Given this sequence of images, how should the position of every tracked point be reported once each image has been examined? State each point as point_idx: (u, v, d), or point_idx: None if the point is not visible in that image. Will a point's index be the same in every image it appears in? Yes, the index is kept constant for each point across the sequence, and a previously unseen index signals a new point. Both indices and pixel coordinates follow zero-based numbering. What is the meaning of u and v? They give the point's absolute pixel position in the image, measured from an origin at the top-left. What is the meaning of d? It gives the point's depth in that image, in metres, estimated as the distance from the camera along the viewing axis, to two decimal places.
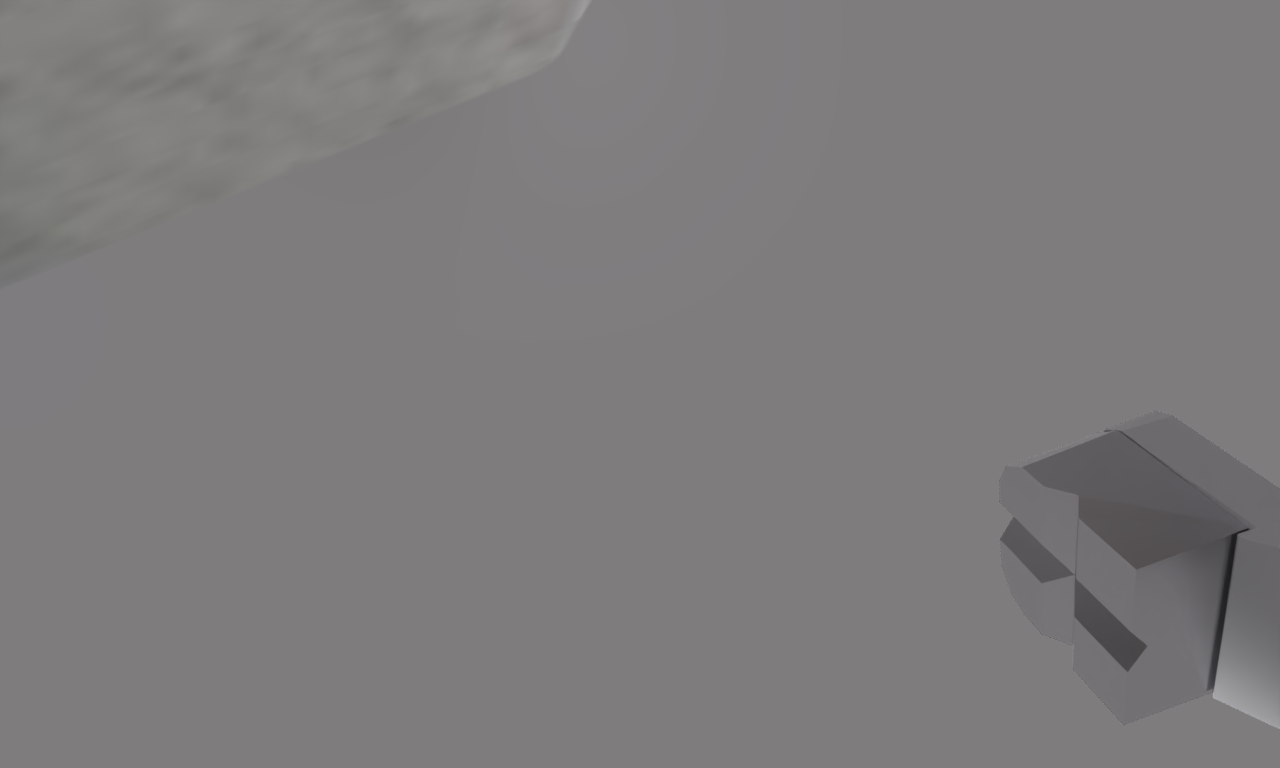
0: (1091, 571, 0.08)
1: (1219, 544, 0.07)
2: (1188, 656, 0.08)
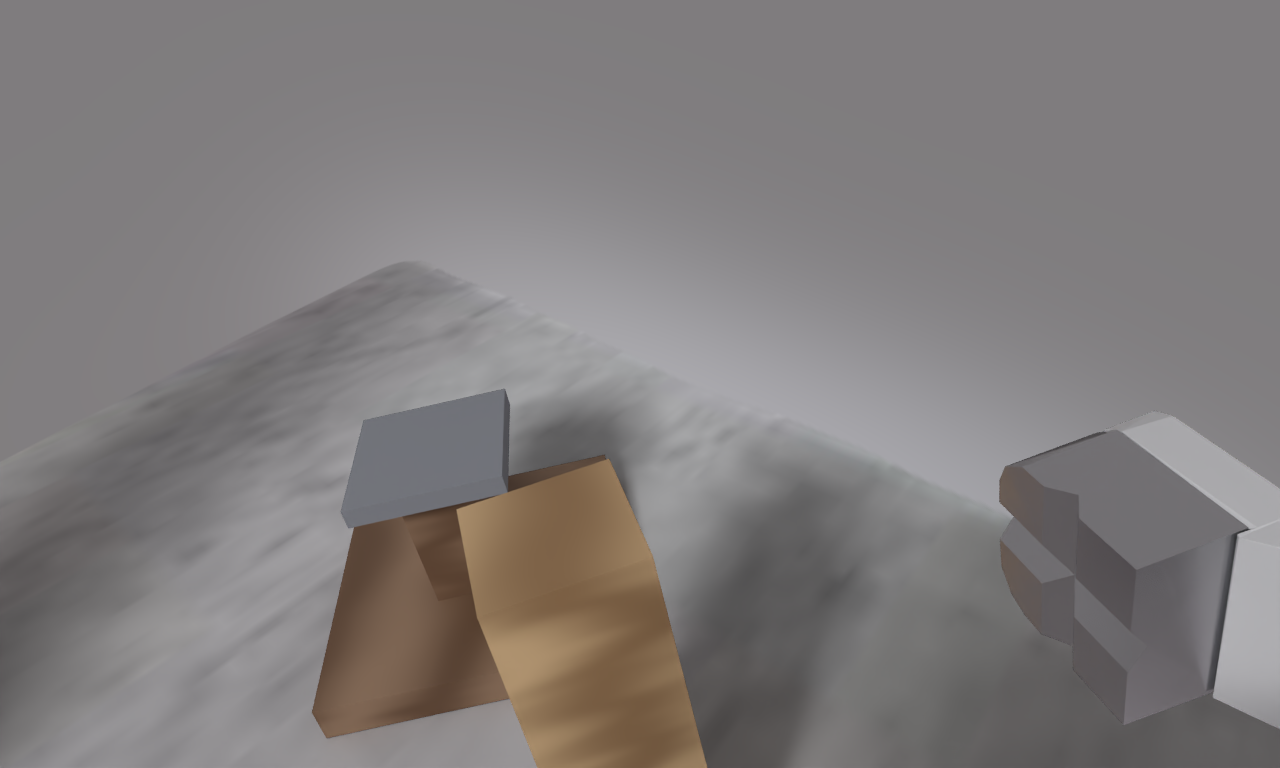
0: (1089, 573, 0.08)
1: (1219, 544, 0.07)
2: (1188, 656, 0.08)
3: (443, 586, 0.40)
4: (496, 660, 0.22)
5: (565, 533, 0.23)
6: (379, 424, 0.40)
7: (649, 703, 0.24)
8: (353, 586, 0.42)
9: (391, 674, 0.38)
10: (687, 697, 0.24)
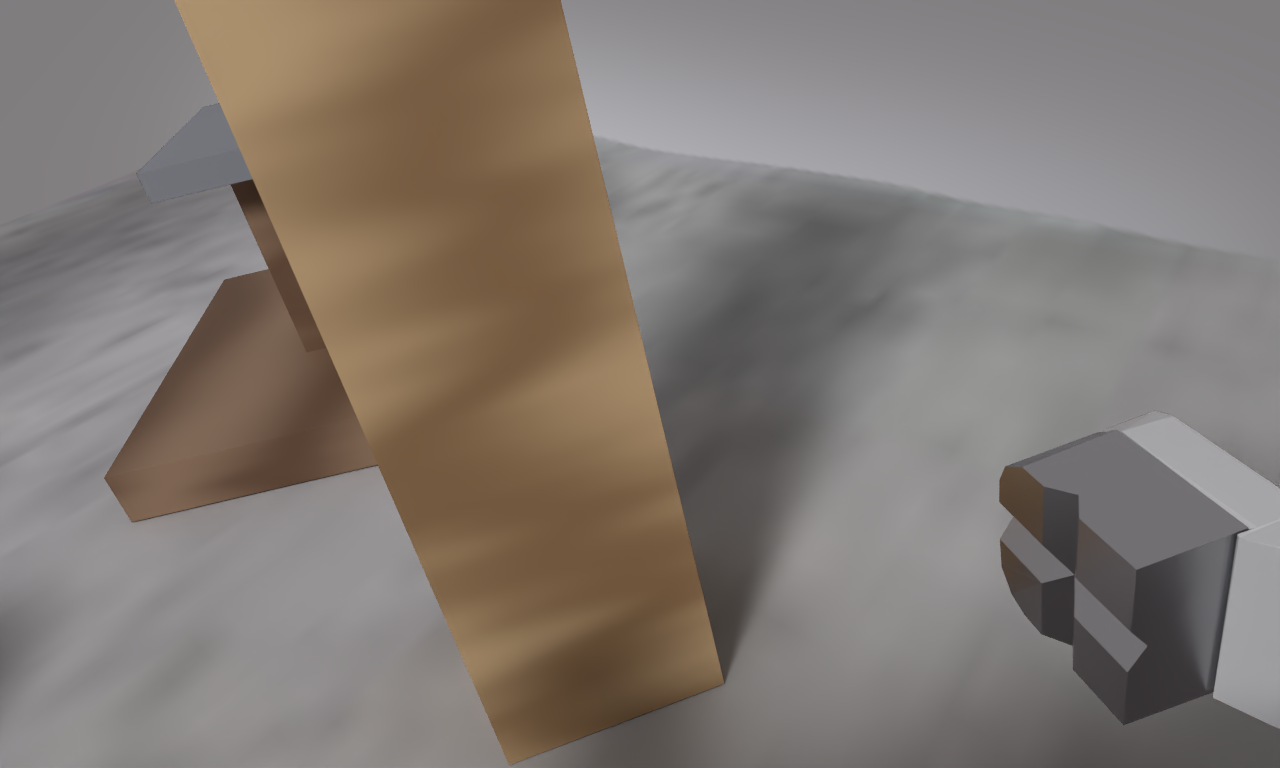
0: (1091, 573, 0.08)
1: (1219, 544, 0.07)
2: (1188, 656, 0.08)
3: (311, 328, 0.29)
4: (186, 18, 0.10)
5: None
6: None
7: (530, 201, 0.12)
8: (198, 348, 0.31)
9: (224, 429, 0.26)
10: (605, 200, 0.13)
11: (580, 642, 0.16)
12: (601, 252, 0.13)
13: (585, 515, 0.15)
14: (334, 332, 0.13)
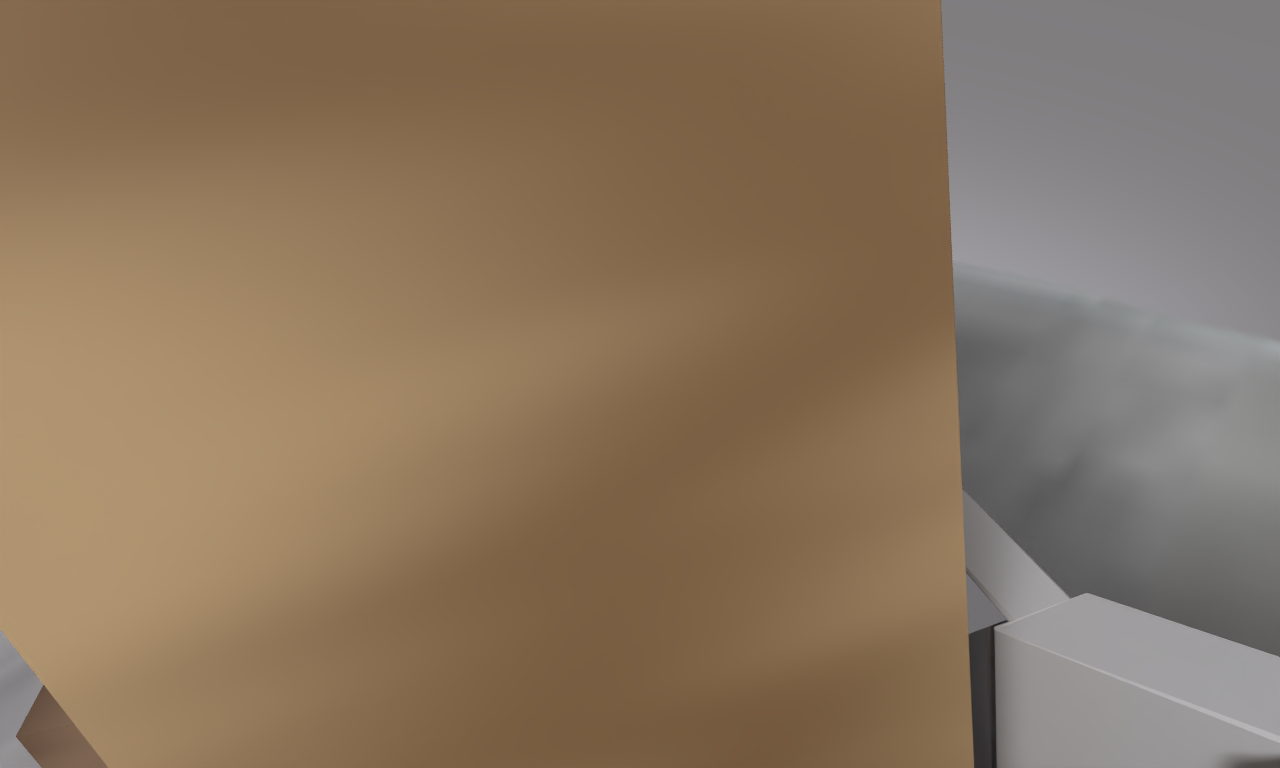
0: None
1: (977, 636, 0.07)
2: None
3: None
4: None
5: None
6: None
7: (806, 723, 0.05)
8: None
9: None
10: (963, 696, 0.06)
11: None
12: None
13: None
14: None
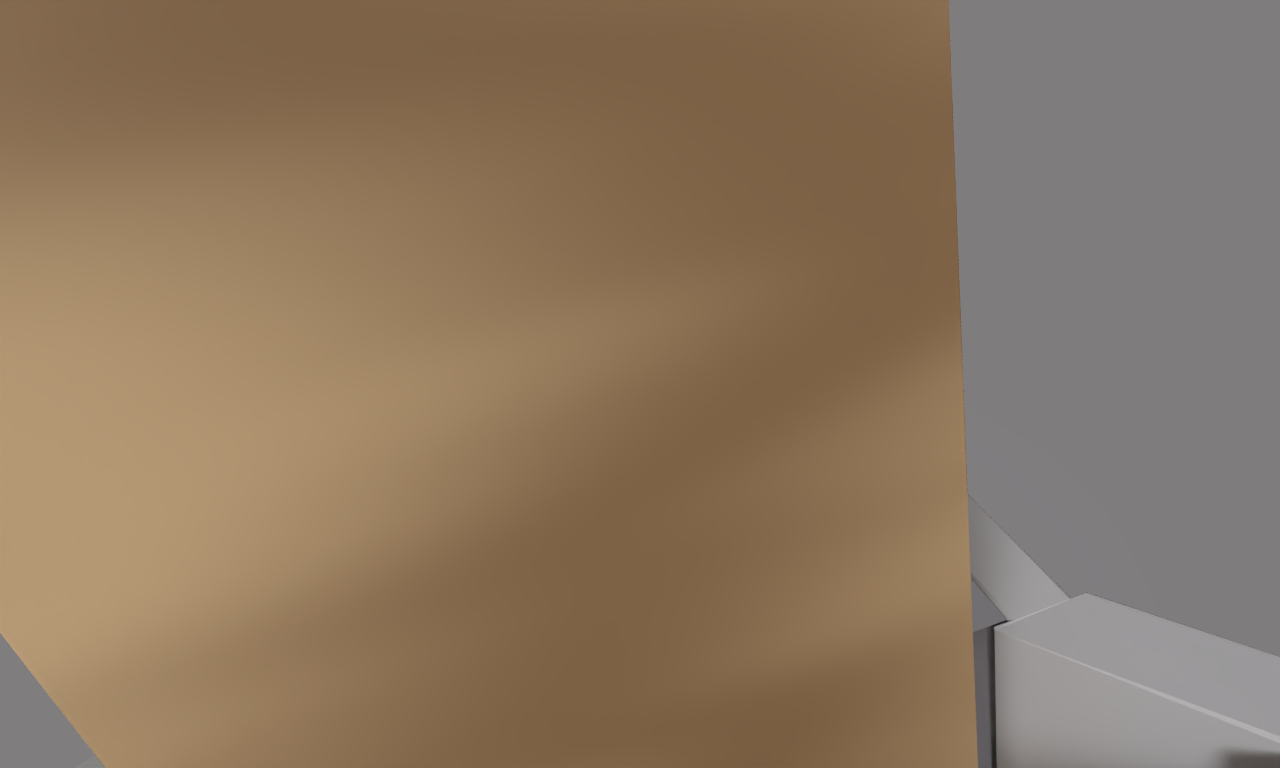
0: None
1: (977, 636, 0.07)
2: None
3: None
4: None
5: None
6: None
7: (809, 725, 0.05)
8: None
9: None
10: (968, 696, 0.06)
11: None
12: None
13: None
14: None
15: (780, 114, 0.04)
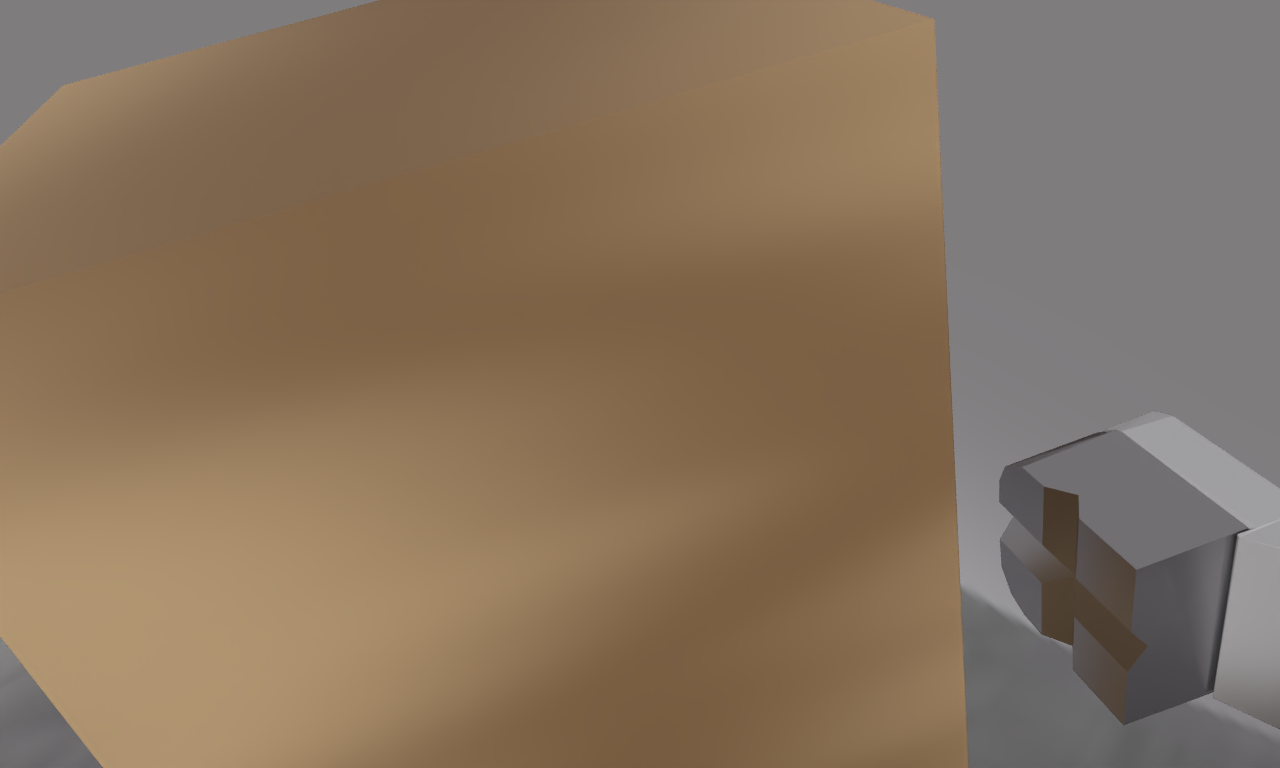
0: (1091, 573, 0.08)
1: (1219, 544, 0.07)
2: (1188, 656, 0.08)
3: None
4: (25, 653, 0.04)
5: (446, 54, 0.05)
6: None
7: None
8: None
9: None
10: None
11: None
12: None
13: None
14: None
15: (799, 343, 0.04)
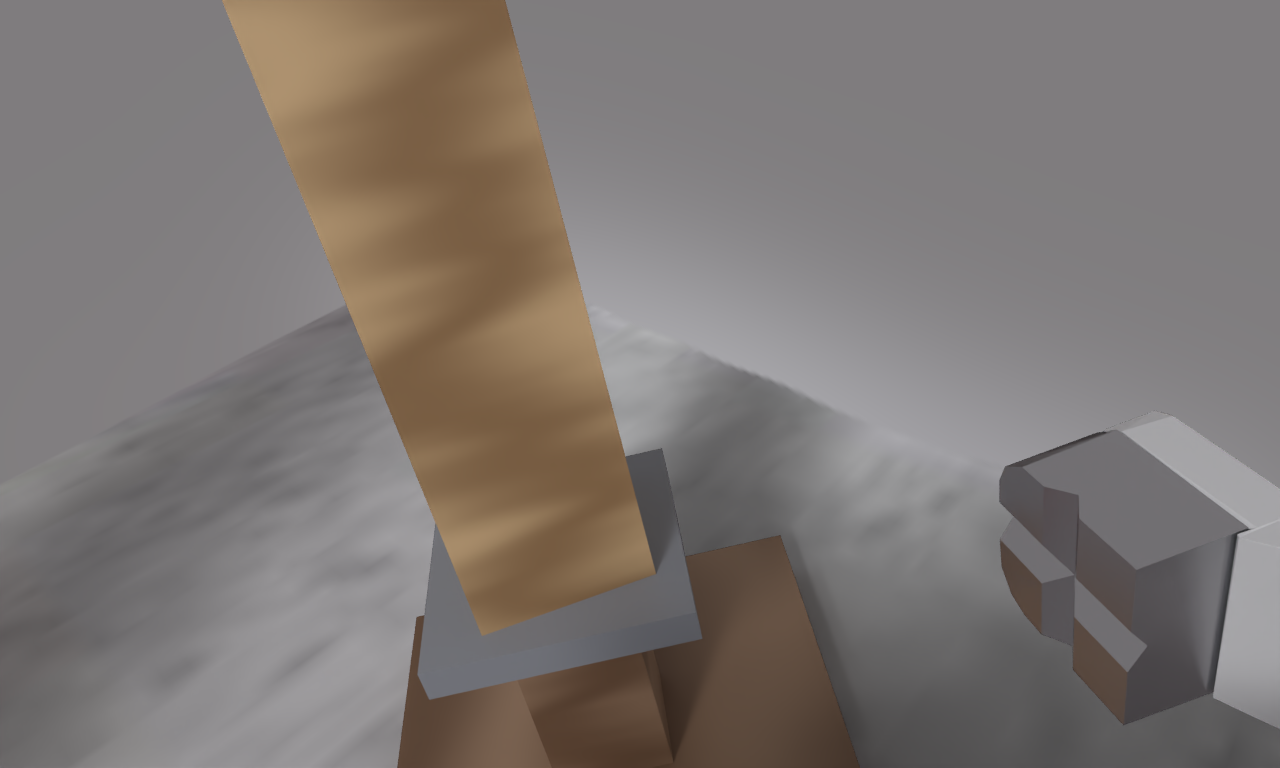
0: (1091, 571, 0.08)
1: (1219, 544, 0.07)
2: (1188, 656, 0.08)
3: (569, 767, 0.25)
4: (243, 46, 0.15)
5: None
6: None
7: (493, 180, 0.17)
8: (419, 753, 0.27)
9: None
10: (550, 180, 0.17)
11: (537, 533, 0.20)
12: (547, 219, 0.17)
13: (539, 427, 0.19)
14: (346, 277, 0.17)
15: None
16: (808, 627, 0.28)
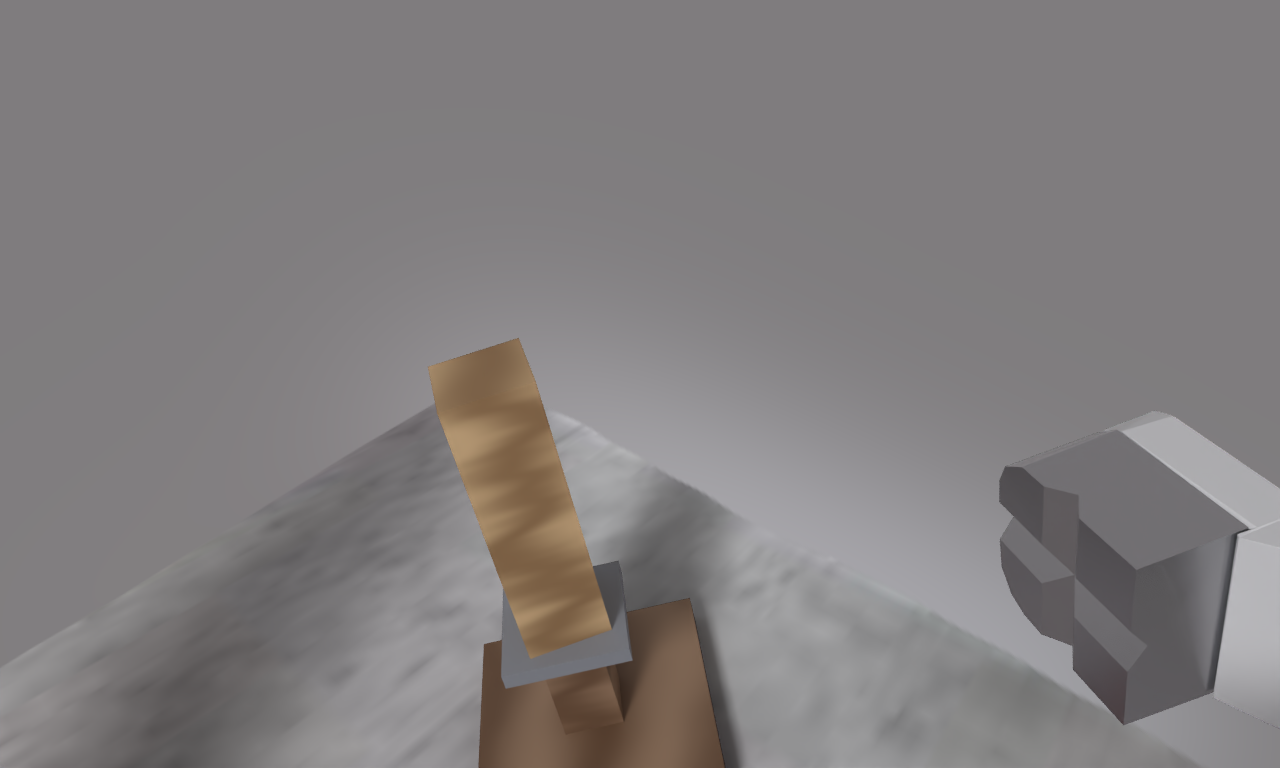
0: (1089, 573, 0.08)
1: (1219, 544, 0.07)
2: (1188, 656, 0.08)
3: (570, 723, 0.49)
4: (448, 441, 0.39)
5: (488, 374, 0.40)
6: None
7: (540, 476, 0.41)
8: (491, 718, 0.52)
9: None
10: (563, 474, 0.41)
11: (556, 612, 0.45)
12: (562, 488, 0.42)
13: (558, 568, 0.44)
14: (480, 515, 0.41)
15: (526, 410, 0.40)
16: (698, 651, 0.53)
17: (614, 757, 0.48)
